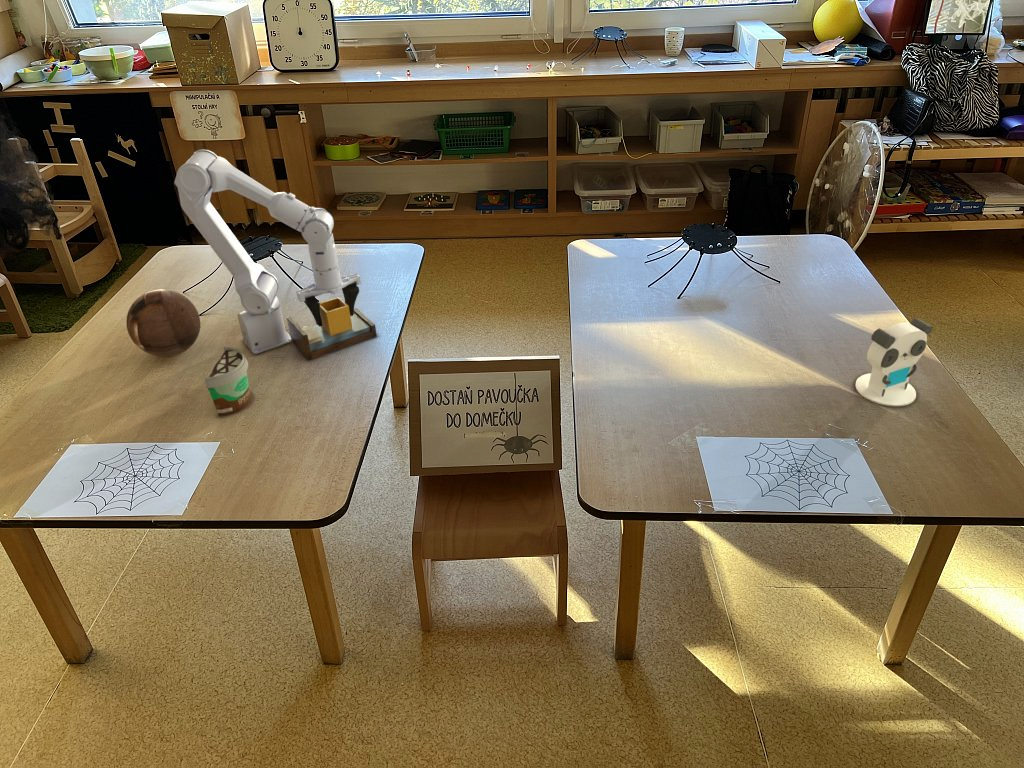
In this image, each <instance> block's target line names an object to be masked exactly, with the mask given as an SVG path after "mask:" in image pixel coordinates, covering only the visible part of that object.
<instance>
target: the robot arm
mask: <svg viewBox="0 0 1024 768" xmlns="http://www.w3.org/2000/svg"><path fill="white" fill-rule="evenodd" d="M173 183H174V185H175V186H176V187H177V192H178V196H179V197H178V198H179V202H180V207H181V209H182V211H183V212H184V214H186V216H187V217H188V218H189V220H190V221H191V223H192V224H193V225H194V226H195V228H196V229H197V230H198V232H199V233H200V234H201V235H202V238H203V239H205V242H207V244H208V245H209V246H210V247H211V249H212V251H213V252H214V253H215V254H216V256H217V257H218V258H219V260H220V261H221V262H222V264H223V265H224V266H225V267H226V269H227V270H228V271H229V273H230V274H231V276H232V278H233V281H234V282H233V283H234V288H235V291H236V293H237V294H238V296H239V298H240V304H241V306H242V308H243V309H244V310H243V311H241V312H239V313H238V314H237V320H238V325H239V328H240V331H241V335H242V341H243V342H244V344H245V345H246V347H248V349H249V350H250V351H251V353H253V355H257V354H260V353H263V352H266V351H270V350H272V349H275V348H278V347H282V346H285V345H287V344H290V343H292V340H291V336H290V333H289V332H288V331H287V330H286V325H285V320H284V317H283V311H282V308H281V301H280V300H279V298H278V296H277V292H278V291H279V289H280V283H279V281H278V279H277V277H276V276H275V275H274V274H272V273H271V272H269V271H268V270H267V269H266V268H265V267H264V265H262V264H260V263H256V262H254V260H253V259H252V258H251V256H250V255H249V253H248V252H247V251H246V249H245V248H244V246H243V245H242V244H241V243H240V240H238V238H237V237H236V235H235V234H234V233H233V232H232V230H231V229H230V228H229V225H227V224H226V222H225V220H224V219H223V218H222V216H221V215H220V214H219V212H218V211H217V210H216V208H215V207H214V205H213V204H212V203H211V196H212V193H218V192H223V191H228V190H229V191H233V192H235V193H237V194H239V195H241V196H243V197H245V198H246V199H249V200H251V201H253V202H255V203H256V204H259V205H260V206H261V205H262V206H263V207H265V208H267V211H268V212H269V215H270V217H272V218H273V219H275V220H277V221H279V222H281V223H283V224H285V225H286V226H288V227H290V228H292V229H294V230H295V231H297V232H299V233H301V236H302V238H303V240H304V241H305V242H307V246H308V254H309V259H310V264H311V270H312V275H313V279H314V282H313V283H311V284H310V285H308V286H306V287H303V288H301V289H299V290H296V291H295V293H296V297H297V298H296V299H297V300H298V301H299V302H300V303H304V304H305V305H306V306H307V309H309V311H310V313H311V315H312V317H313V319H314V321H315V323H316V324H317V325H318V326H319V327H321V326H323V325H322V319H321V315H320V303H321V302H319V301H318V299H317V298H316V297H318V296H322V295H326V294H332V295H334V294H338V293H340V292H341V291H342V294H343V295H342V296H343V298H344V302H345V303H346V304H347V305H348V306H349V311H350V316H353V313H354V309H355V304H356V301H357V298H358V296H359V294H360V287H359V286H358V285H362V280H361V276H360V275H359V274H358V273H353V274H352V273H351V274H346V275H341V272H340V265H339V258H338V253H337V247H336V244H335V239H334V233H333V232H332V231H333V229H334V224H335V221H334V218H333V216H332V214H331V213H330V212H329V211H327V210H326V209H325V208H323V207H315V206H309V205H308V204H306V203H305V202H303V201H301V200H299V199H297V198H296V195H295V194H293V193H292V192H288V193H287V192H285V191H280V192H274V191H273V190H271V189H269V188H267V187H266V186H264V185H263V184H261V183H260V182H258V181H256V180H255V179H254V178H253V177H250V176H249V175H247V174H245V172H243V171H241V170H239V169H238V168H236V167H235V166H234V165H232V164H231V163H230V162H229V161H228V160H227V159H226V158H224V157H222V156H221V155H219V156H218V155H217V154H216V153H215V152H213V151H211V150H209V149H198V150H195V151H194V152H193V154H191V157H189V159H188V160H186V162H185V163H184V164H182V165H181V166H179V168H178V170H177V172H176V176H175V179H174V182H173Z"/></svg>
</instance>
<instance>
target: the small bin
mask: <svg viewBox="0 0 1024 768" xmlns="http://www.w3.org/2000/svg"><path fill="white" fill-rule="evenodd" d="M319 303H320V315H321V319H322V325H323V326H321V327H322V328H323V329H324V330H325V331H326V332H327V333H328V334H329V335H330V336H332V335H335V334H338V333H341V332H344V331H347V330H350V329H352V323H351V317H350V311H349V306H348V305H347V304H346V303H345V300H343V299H342V298H341V297H340V296H337V297H333V298H331V299H328V300H324V301H321V302H319Z"/></svg>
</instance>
